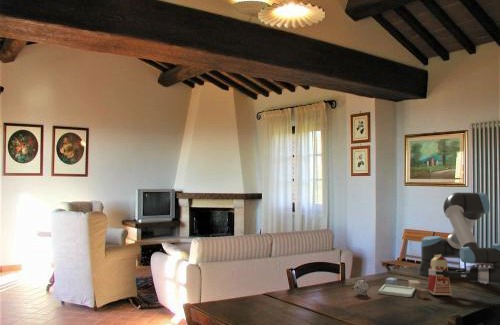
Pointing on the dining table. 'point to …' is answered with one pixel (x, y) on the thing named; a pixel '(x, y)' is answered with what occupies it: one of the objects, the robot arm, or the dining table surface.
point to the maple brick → (414, 284)
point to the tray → (397, 290)
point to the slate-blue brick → (391, 281)
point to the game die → (361, 287)
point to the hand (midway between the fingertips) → (429, 269)
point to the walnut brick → (422, 293)
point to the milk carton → (439, 277)
